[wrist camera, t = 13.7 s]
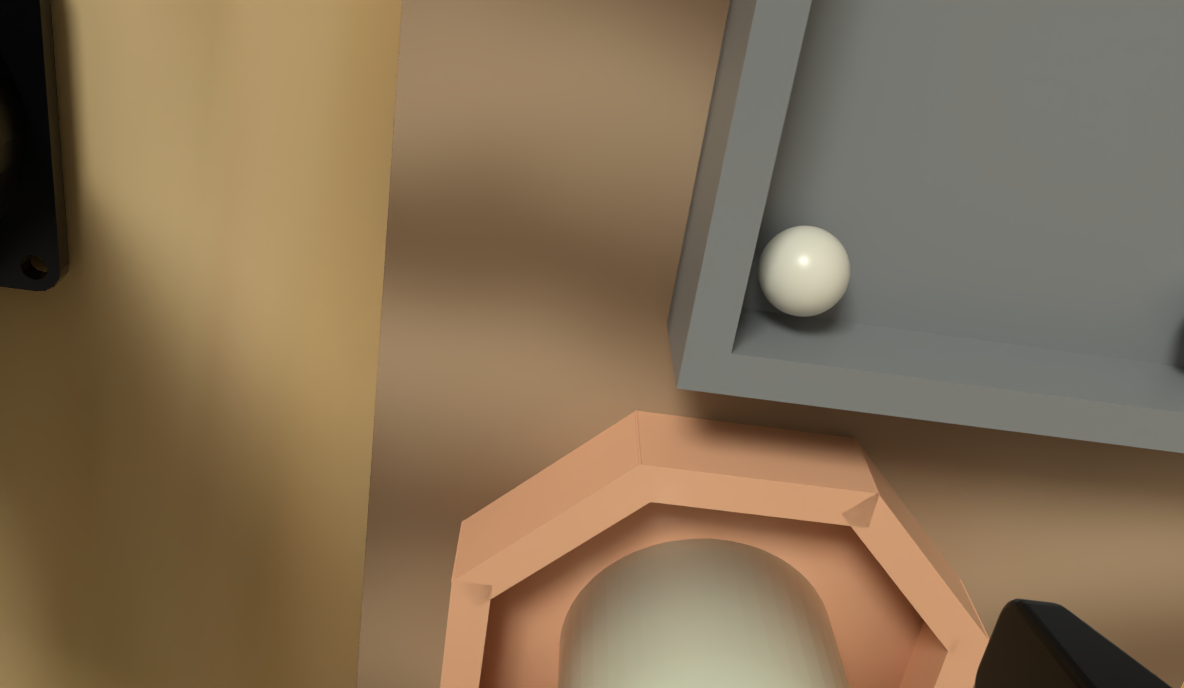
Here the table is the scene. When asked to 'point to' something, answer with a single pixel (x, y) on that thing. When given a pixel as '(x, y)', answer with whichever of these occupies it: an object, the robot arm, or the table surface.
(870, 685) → the terracotta dish
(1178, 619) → the walnut board
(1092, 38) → the parts tray
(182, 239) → the table surface
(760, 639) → the pale green tall cylinder
